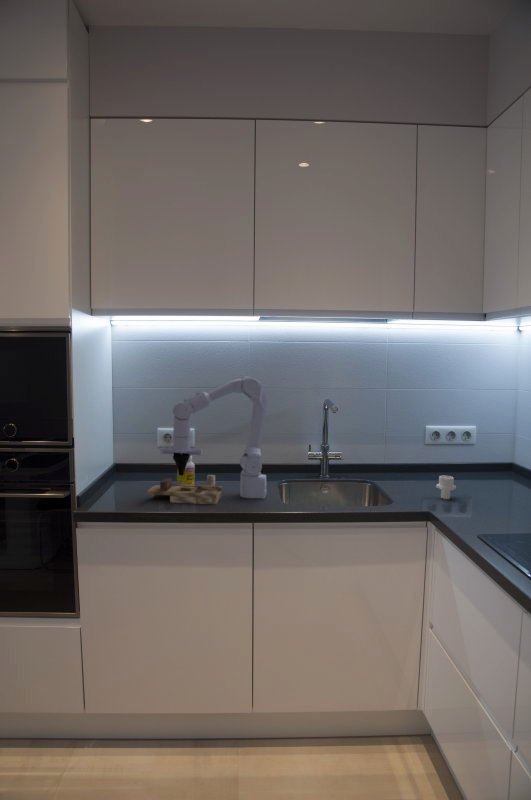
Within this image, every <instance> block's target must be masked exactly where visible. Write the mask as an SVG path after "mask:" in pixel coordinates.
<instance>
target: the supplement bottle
mask: <svg viewBox="0 0 531 800" xmlns="http://www.w3.org/2000/svg"><path fill="white" fill-rule="evenodd" d="M192 460H193V455H190V457H189V459H188V462H187V464H186V467H185V472H184V475H179V472H178V468H177V467H176V469H177V470H176V486H178V485H195V482H196V481H195V476H196V475H195V473H196V472H195V471H196V470H195V469H196V467H195V466H196V465H195V463H194V461H192Z"/></svg>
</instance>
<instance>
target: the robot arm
mask: <svg viewBox="0 0 531 800" xmlns="http://www.w3.org/2000/svg"><path fill="white" fill-rule="evenodd" d="M263 387H264V386H263V384H262V382H261V381H259V380H258V379H257V378H256V377H252V376H248V375H244V376H242V377H240V378H235V379H232V380H231V381H228V382H227V383H225V384H223V385H221V386H218V387H217V388H215V389H213V390H211V391H210V392H208V393H207V392H206V391H201V392H200V391H197V392H195V395H193V396H190V397H187V398H186V397H185V398H183V399H182V400H183V401H178V402H175V403H174V405H173V408H172V414H173V415H174V416H173V441H172V442H173V447H161V448H160V455H165V454H166V455H172V458H173V462H175V465H176V469H177V468H178V472H179V475H184V472H185V467H186V464H187V462H188V459H189V457H190V455H191V456H203V454H204V451H203V450H204V449H203V448H195V447H194V448H193V447H191V422H190V421H191V420H190V417H191V415H192V414H193V415H194V414H196V413H199V412H201V411H203V410H205V409H207V408H209V407H210V406H211V404H212V402H213V401H215V400H218V399H220V398H223V397H225V396H227V395H229V394H232V393H233V394H234V393H237V394H238V393H239V394H243V395H245V396H246V397H248V399H249V400H250V401H251V402H252V404H253V405H252V412H251V416H250V417H251V418H250V422H249V428H248V435H247V436H248V437H247V442H246V446H245V448H244V450H243V451H244V452H243V455H242V456H241V458H240V460H239V465H240V467H241V468H242V470H241V471H240V495H239V496H240V497H241V498H245V499H265V498H266V496H267V494H268V493H267V492H268V490H267V475H266V474H262V472H261V471H262V469H263V464H262V459H261V458H262V452H261V447H262V446H261V445H262V439H263V434H264V427H265V423H266V415H267V409H268V404H269V399H268V397H267V393H266V392H265V389H264V388H263Z"/></svg>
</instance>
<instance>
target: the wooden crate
mask: <svg viewBox="0 0 531 800" xmlns="http://www.w3.org/2000/svg"><path fill="white" fill-rule="evenodd" d="M178 486H189V487H198V490H197V491H196V493H190V492H170V495H169V502H170V503H173V504H174V503H179V504H195V505H197V504H199V505H217V504H218V503H219V501H220V499H222V496H223V486H222V485H221V486H216V485H215V486H207V485H196V484H194V485H178Z"/></svg>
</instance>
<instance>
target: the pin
mask: <svg viewBox="0 0 531 800" xmlns="http://www.w3.org/2000/svg"><path fill="white" fill-rule="evenodd" d="M206 486H216V475H215V474H208V475H207V477H206Z"/></svg>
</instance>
